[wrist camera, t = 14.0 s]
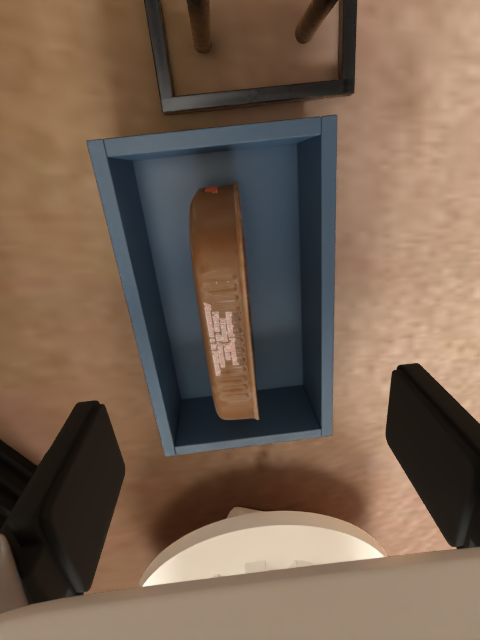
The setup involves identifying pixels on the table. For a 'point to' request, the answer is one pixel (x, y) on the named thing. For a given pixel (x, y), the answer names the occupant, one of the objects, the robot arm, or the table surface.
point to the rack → (256, 96)
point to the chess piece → (12, 478)
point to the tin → (224, 299)
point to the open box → (262, 267)
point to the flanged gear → (260, 546)
